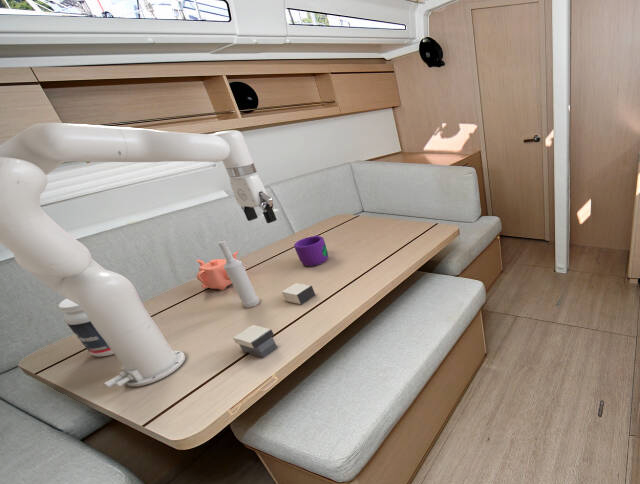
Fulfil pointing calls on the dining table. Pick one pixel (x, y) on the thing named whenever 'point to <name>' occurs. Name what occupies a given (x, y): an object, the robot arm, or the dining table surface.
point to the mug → (311, 250)
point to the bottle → (239, 278)
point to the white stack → (298, 293)
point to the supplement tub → (84, 329)
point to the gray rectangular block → (261, 348)
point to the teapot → (214, 273)
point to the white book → (253, 336)
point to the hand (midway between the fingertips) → (262, 220)
